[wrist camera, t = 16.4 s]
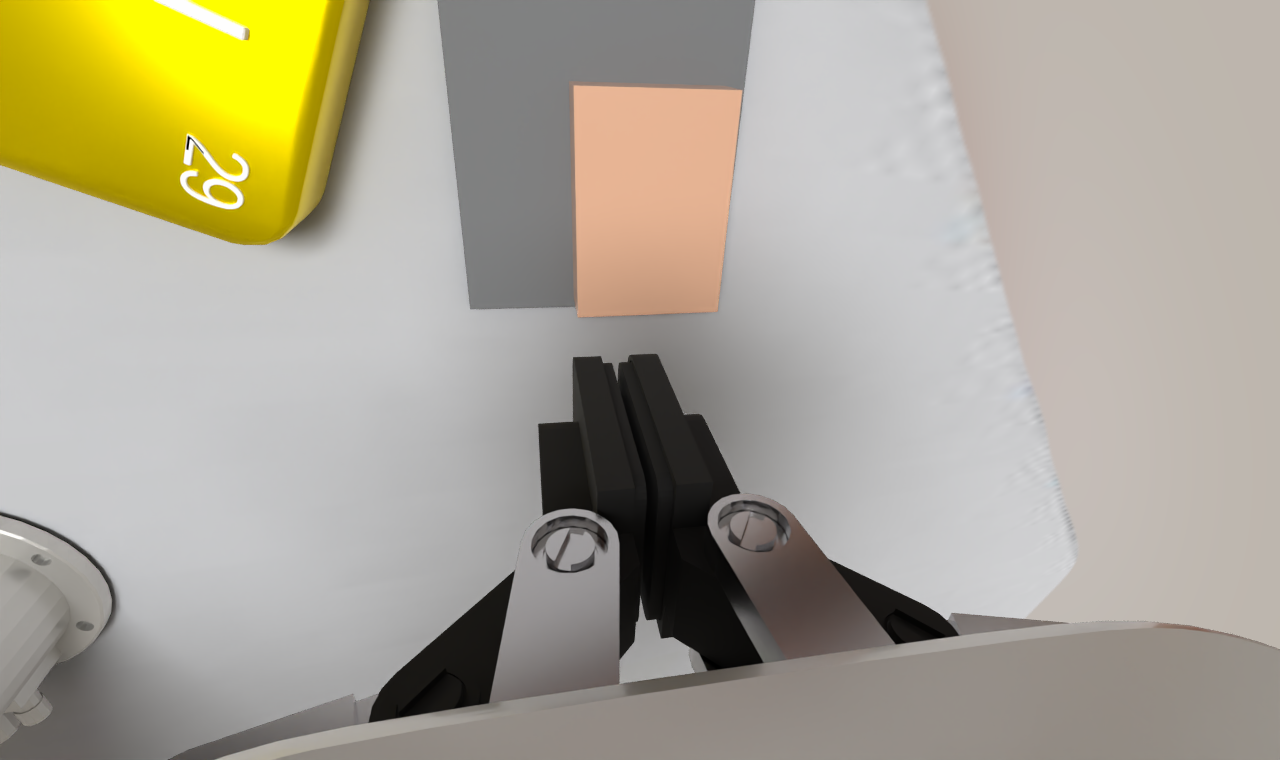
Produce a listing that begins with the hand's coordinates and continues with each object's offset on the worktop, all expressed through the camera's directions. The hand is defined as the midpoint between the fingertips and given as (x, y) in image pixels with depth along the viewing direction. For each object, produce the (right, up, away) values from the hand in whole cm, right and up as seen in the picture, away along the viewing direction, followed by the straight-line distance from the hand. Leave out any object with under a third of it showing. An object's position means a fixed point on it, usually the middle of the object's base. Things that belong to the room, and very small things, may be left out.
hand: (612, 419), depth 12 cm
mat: (-1, +12, +15) cm, 19 cm away
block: (-2, +9, +15) cm, 17 cm away
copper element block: (-18, +16, +10) cm, 26 cm away
